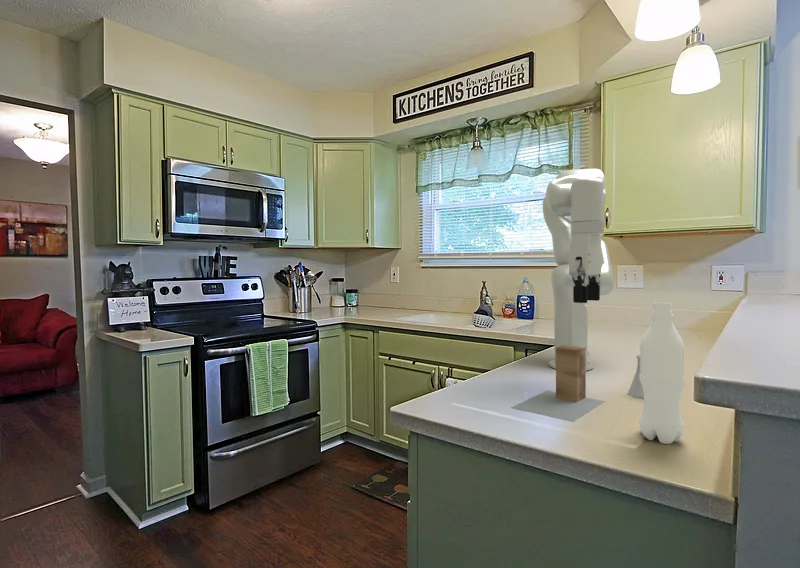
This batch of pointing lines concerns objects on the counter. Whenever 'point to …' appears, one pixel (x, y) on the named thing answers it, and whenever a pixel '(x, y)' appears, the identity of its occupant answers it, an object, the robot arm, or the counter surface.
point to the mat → (558, 406)
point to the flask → (636, 384)
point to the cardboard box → (571, 373)
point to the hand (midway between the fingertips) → (586, 301)
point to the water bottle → (662, 377)
